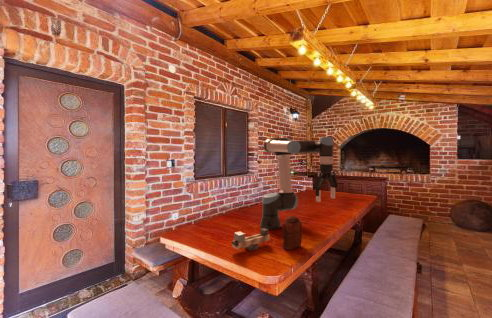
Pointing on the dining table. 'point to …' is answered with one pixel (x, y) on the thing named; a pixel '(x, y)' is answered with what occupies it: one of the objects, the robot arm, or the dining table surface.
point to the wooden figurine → (292, 233)
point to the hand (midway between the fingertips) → (325, 199)
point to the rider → (239, 236)
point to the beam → (252, 240)
